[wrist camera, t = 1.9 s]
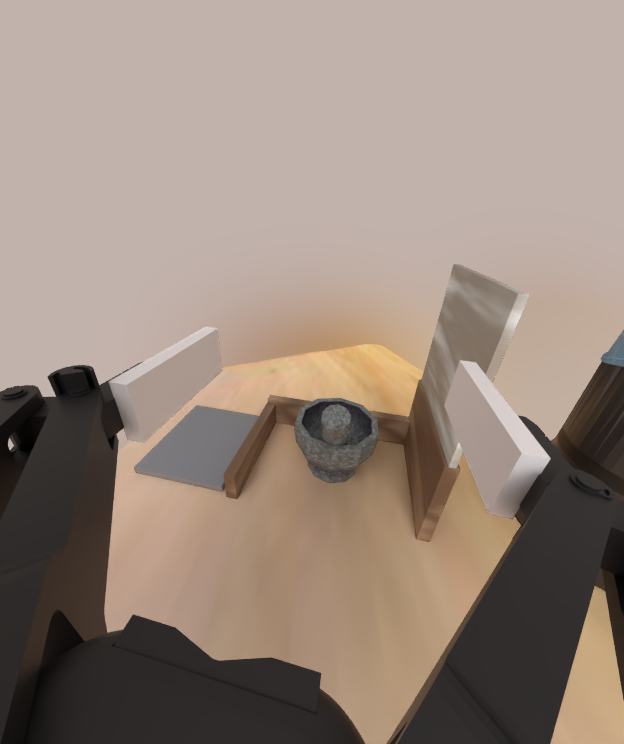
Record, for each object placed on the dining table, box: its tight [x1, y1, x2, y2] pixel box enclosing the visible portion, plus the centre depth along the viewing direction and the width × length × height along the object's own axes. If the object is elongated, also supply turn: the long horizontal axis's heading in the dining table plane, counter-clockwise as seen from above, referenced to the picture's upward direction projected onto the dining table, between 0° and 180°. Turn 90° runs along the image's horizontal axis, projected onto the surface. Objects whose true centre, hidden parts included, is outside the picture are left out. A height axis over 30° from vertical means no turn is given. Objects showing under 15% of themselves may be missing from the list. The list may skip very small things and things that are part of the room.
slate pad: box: [134, 406, 259, 491], centre depth 37 cm, size 11×13×1 cm
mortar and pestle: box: [295, 398, 378, 483], centre depth 32 cm, size 11×9×12 cm
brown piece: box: [223, 265, 530, 542], centre depth 29 cm, size 21×15×24 cm
